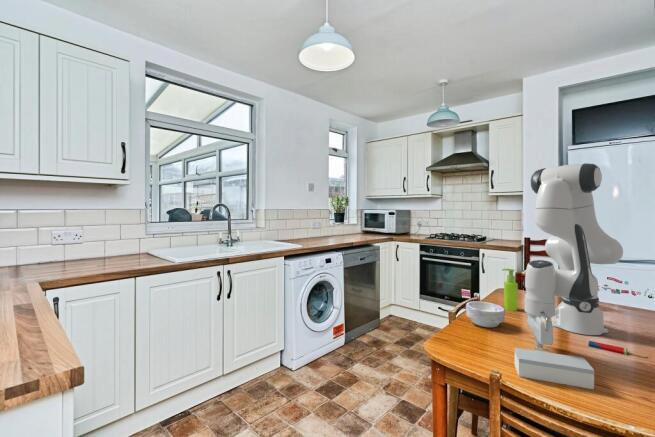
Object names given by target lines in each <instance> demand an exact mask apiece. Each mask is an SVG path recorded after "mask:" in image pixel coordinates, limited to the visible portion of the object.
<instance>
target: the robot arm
mask: <svg viewBox="0 0 655 437" xmlns="http://www.w3.org/2000/svg"><path fill="white" fill-rule="evenodd" d="M602 178H603V175H602V172H601V169H600V167H599V166H598V165H597V164H595V163H587V162H585V163H582V164H579V163H578V164H577V163H576V164H562V165H559V166H553V167H548V168H540V169H537V170H535V171H534V172H533V174H532V175H531V177H530V187H531V189H532V191H533V192H534V193H535V194H536V197H535V198H536V199H535V205H534V221H535V225H536V226H537V227H538V228H539V230H541V231H543V232H544V233H546V234H548V235H551V236H549V238H547V240H546V241H545V243H544V244H545V245H544V251H545V252H546V254H547V255H548V257H550V258H551V259H552V260H554V261H555V263H556V264H557V265H558V266H559V268H555V265H554V263H553V262H551V261H548V260H544V259H537V260H531V261H529V262H528V263H527V265H526V269H525V278H524V288H525V294H524V300H523V301H524V302H523V304H524V312H525V313H526V322H527V324H528V326H529V327H530V328H529V329H531V331H532V333H533V336H534V346H535V347H538V348H544V346H553V344H554V327H555V328H558V329H562V330H564V331H568V332H570V333H576V334H580V335H585V336H600V335H602V334H608V333H609V330H608V328H605V323H604V322H605V321H604V312H603V311H602V309H600V298H599V291H598V290H599V281H598V278H597V277H596V276H595V275H594V274H593V272H592V268H591V264H593V265H615V264H617V263H619V262H620V260H621V259H622V258H623V255H624V248H623V245H621V243H620V242H619V241H618V240H617V239H616V238H613V237H611V236H610V235H609V234H608V233H606V232H605V231H604V230H603V228H601V226H600V224H599V223H598V220H597V215H596V209H595V203H594V201H595V200H594V197H593V192H594V191H596V190H598V188H599V187H600V186H601V182H602V180H603V179H602ZM555 297H559V298H561V302H560V303H559V304H558V305H557V307H556V298H555Z"/></svg>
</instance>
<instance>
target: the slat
mask: <svg viewBox="0 0 655 437" xmlns="http://www.w3.org/2000/svg"><path fill="white" fill-rule="evenodd" d="M533 350H534V351H541V352H547V353H551V352H550V351H549V349H548V348H545V347H543V348H538V347H536V346H533Z"/></svg>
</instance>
